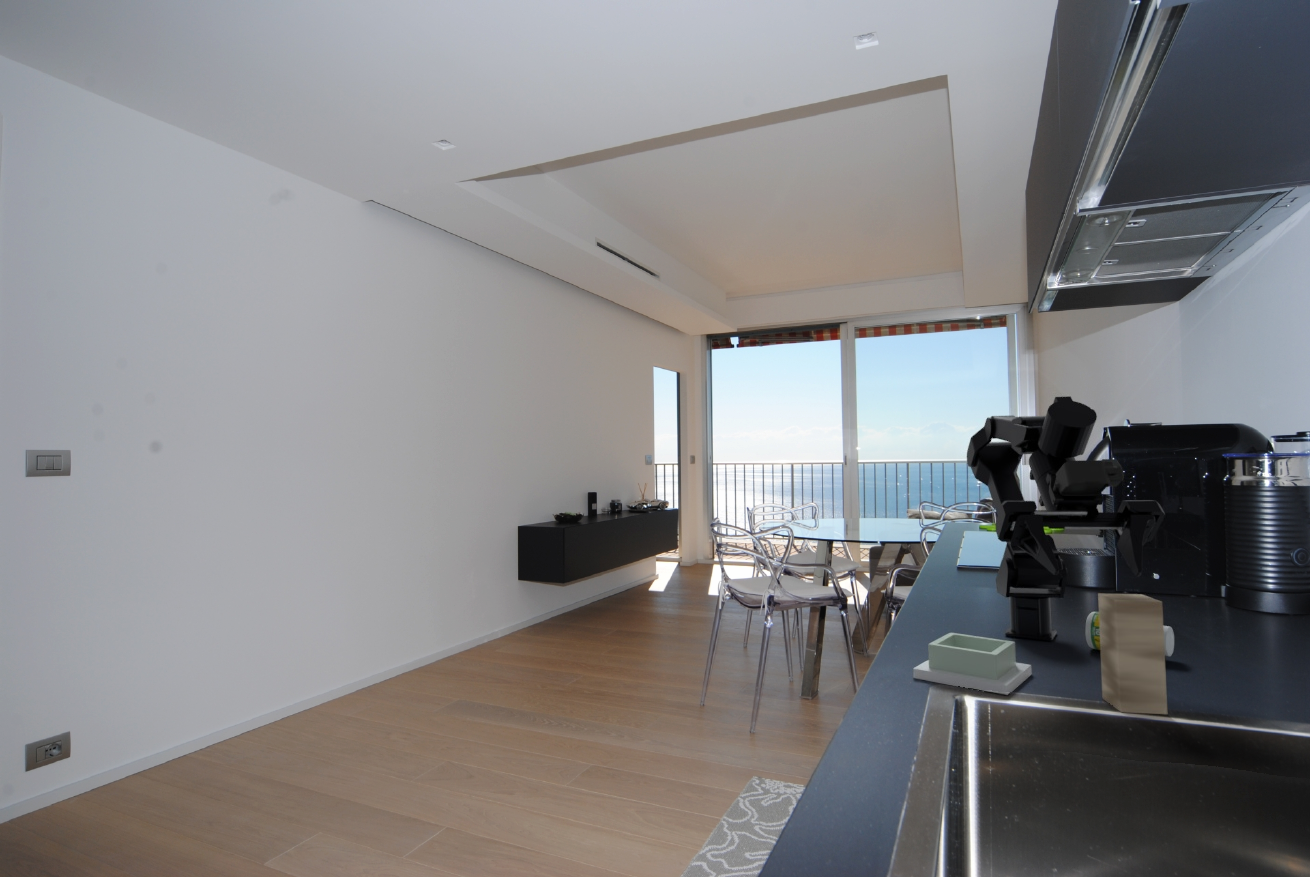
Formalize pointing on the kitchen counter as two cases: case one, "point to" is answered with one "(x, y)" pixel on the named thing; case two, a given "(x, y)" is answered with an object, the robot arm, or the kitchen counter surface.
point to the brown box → (1132, 653)
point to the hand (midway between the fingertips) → (1097, 573)
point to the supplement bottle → (1094, 634)
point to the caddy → (973, 663)
